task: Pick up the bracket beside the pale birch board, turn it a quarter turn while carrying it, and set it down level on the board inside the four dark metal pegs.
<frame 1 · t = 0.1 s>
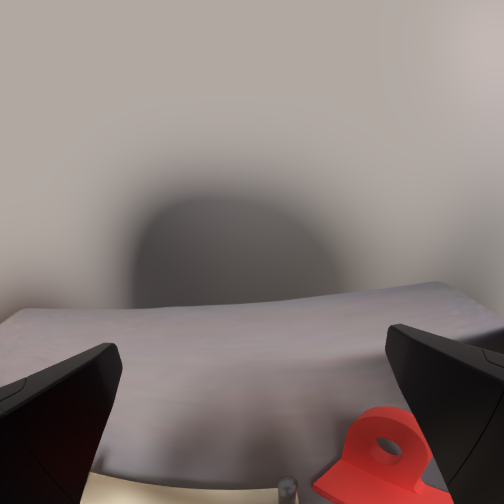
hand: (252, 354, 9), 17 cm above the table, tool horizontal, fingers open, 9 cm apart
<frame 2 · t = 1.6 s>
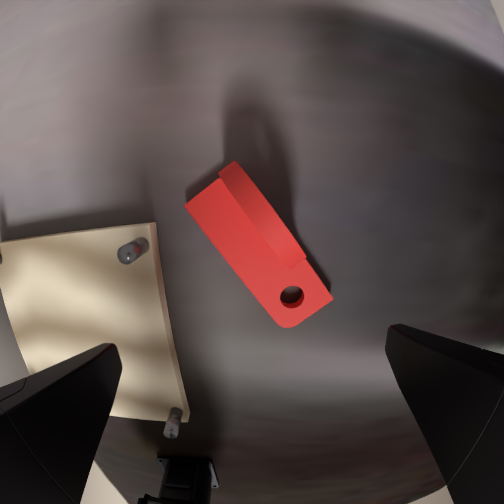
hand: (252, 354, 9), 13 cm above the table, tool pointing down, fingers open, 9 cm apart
bracket: (261, 250, 22), on the table
peg board: (83, 331, 23), on the table
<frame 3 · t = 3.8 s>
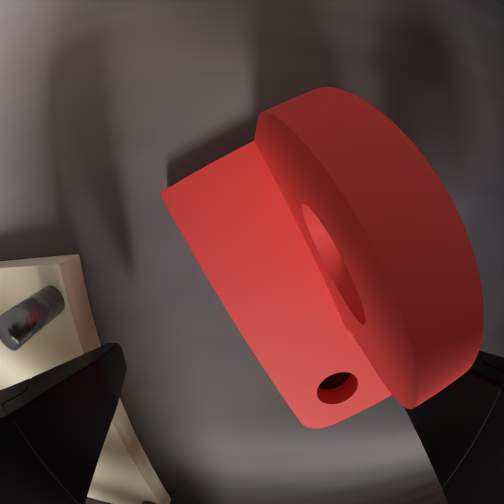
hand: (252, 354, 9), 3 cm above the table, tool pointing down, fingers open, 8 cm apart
bracket: (298, 301, 11), on the table, touching gripper
peg board: (18, 397, 12), on the table
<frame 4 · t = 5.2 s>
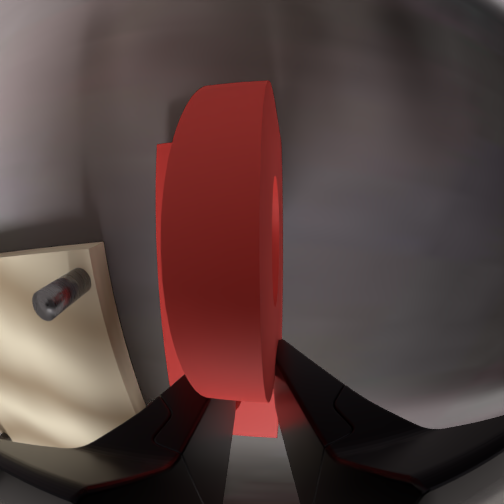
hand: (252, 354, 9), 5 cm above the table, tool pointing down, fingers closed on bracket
bracket: (225, 297, 12), point 2 cm above the table, touching gripper
peg board: (34, 378, 15), on the table
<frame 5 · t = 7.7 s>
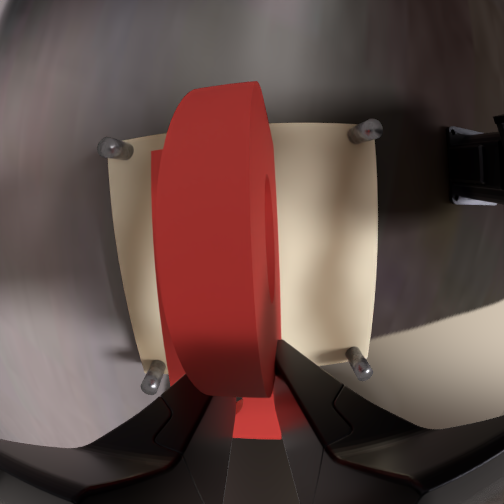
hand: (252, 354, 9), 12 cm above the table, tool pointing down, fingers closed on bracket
bracket: (224, 301, 12), point 9 cm above the table, touching gripper
peg board: (248, 255, 21), on the table
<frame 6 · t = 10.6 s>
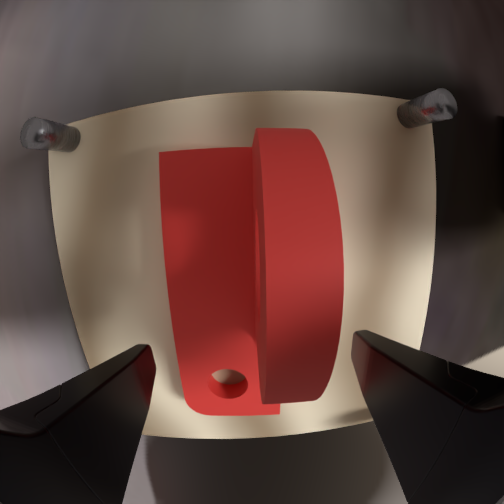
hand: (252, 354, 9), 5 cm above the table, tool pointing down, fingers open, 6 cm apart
bracket: (227, 294, 13), point 1 cm above the table, touching peg board
peg board: (249, 290, 14), on the table
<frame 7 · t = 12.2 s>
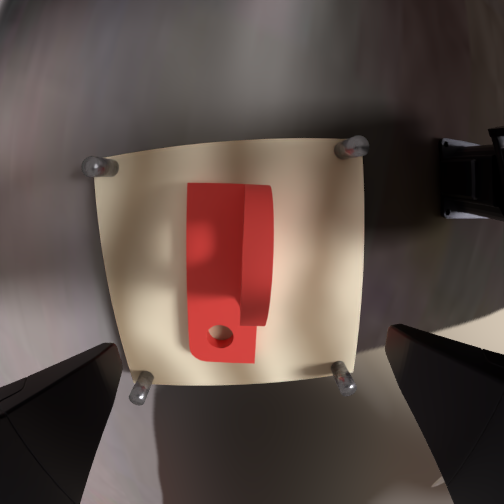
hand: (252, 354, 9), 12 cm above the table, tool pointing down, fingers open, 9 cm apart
bracket: (224, 275, 20), point 1 cm above the table, touching peg board
peg board: (232, 271, 21), on the table
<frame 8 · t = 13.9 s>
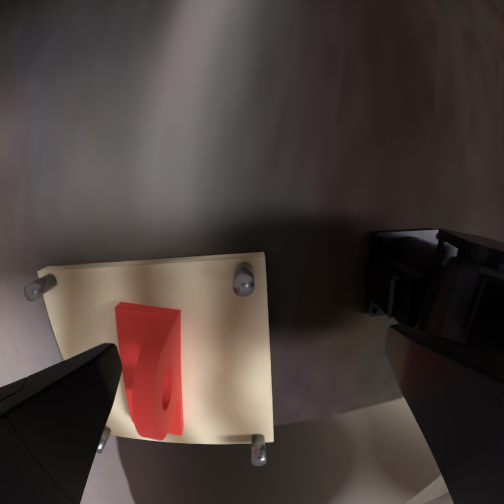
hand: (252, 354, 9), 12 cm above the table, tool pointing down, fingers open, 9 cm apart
bracket: (154, 372, 21), point 1 cm above the table, touching peg board
peg board: (159, 362, 22), on the table
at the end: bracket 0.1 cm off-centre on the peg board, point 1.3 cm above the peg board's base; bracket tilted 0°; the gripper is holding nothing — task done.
